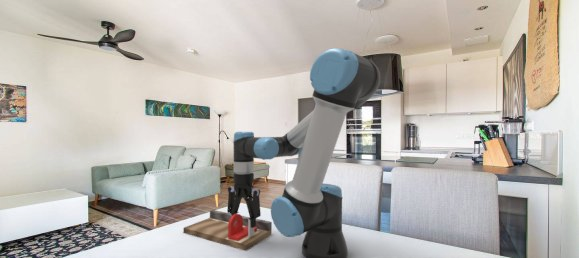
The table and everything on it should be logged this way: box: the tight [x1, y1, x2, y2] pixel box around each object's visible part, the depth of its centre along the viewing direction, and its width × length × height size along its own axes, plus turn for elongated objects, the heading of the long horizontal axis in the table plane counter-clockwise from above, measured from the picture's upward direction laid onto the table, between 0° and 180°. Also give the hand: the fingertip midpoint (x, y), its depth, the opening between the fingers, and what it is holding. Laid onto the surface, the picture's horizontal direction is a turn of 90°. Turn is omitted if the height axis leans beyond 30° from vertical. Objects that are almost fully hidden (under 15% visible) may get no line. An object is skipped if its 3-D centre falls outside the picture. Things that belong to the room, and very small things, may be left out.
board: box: [183, 209, 273, 251], centre depth 104 cm, size 32×16×5 cm, turn 61°
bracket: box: [228, 213, 257, 241], centre depth 98 cm, size 12×4×8 cm, turn 150°
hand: (243, 233), depth 97 cm, fingers open, 7 cm apart
